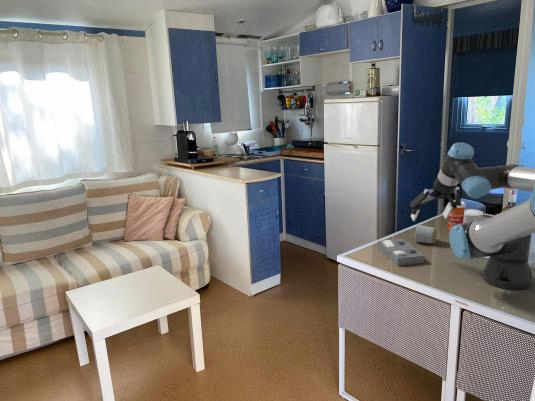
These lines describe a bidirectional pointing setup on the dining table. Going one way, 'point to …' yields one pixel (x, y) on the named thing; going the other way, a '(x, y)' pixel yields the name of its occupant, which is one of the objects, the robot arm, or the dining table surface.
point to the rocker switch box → (401, 245)
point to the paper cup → (456, 216)
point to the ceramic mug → (425, 234)
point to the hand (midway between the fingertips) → (428, 217)
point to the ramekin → (471, 215)
